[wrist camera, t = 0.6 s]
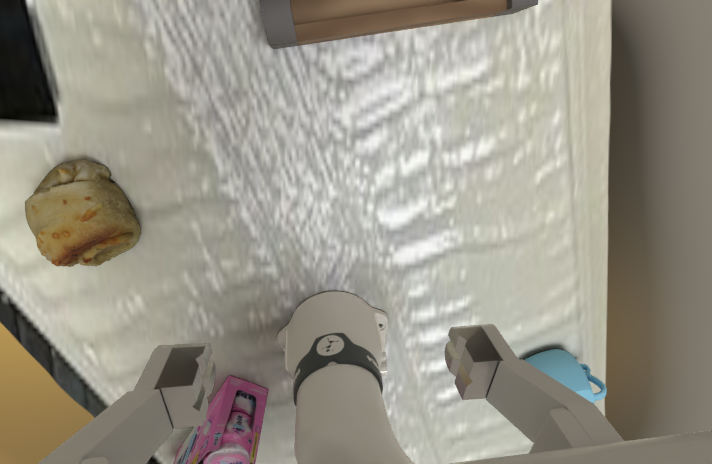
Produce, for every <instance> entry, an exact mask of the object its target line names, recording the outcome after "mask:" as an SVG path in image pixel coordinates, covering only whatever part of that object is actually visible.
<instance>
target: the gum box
mask: <svg viewBox="0 0 712 464" xmlns="http://www.w3.org/2000/svg"><path fill="white" fill-rule="evenodd" d="M267 394H268V389H266V388H263V387H260V386H258V385H255V384H253V383H250V382H247V381H245V380H242V379H239V378H236V377H233V376H231V375H229V376H228V378H227V379H226V381H225V382H224V384H223V385H222V387H221V388H220V390H219V391H218V393H217V394H216V395H215V397H214V399H213V400H212V402H211V403H210V404H209V406H208V410H207V414H206V417H205V421H204V425H202V426H195V427H194V428H193V430H192V431H191V433H190V434H189V435H188V437H187V438H186V440H185V441H184V443H183V445H182V446H181V448H180V449H179V451H178V452H177V455H176V458H175V461H174V463H173V464H255V461H256V455H257V450H258V444H259V439H260V434H261V428H262V423H263V417H264V411H265V406H266V400H267Z"/></svg>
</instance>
